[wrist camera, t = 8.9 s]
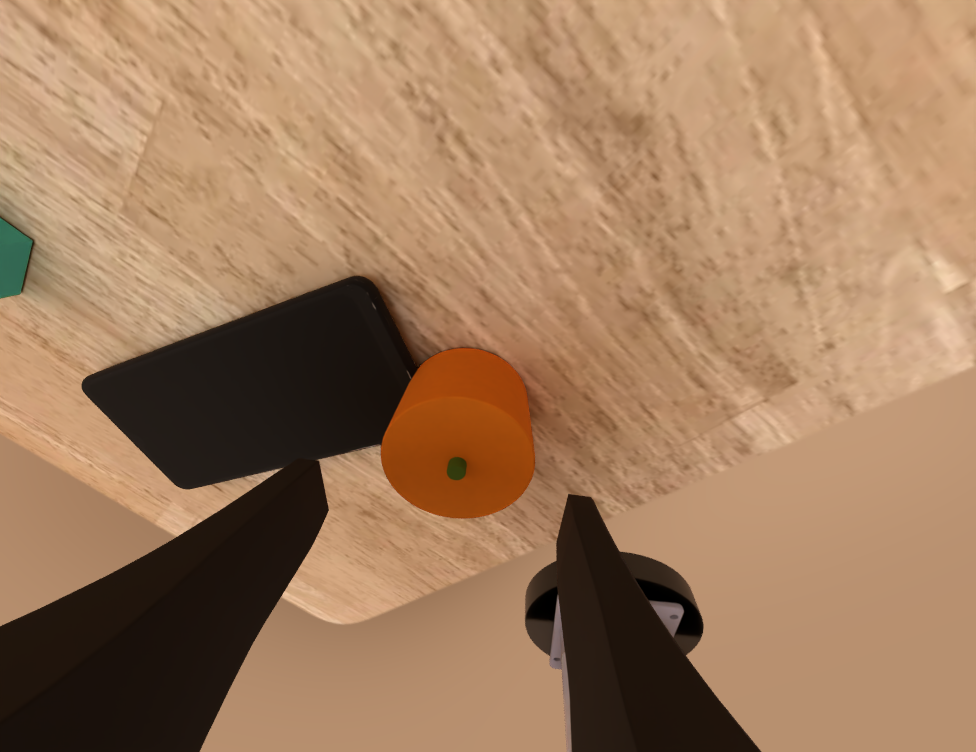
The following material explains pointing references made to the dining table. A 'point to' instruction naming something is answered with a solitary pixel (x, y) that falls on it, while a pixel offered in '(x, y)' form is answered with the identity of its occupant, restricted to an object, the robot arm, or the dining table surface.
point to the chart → (12, 259)
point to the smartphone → (264, 387)
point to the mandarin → (461, 436)
